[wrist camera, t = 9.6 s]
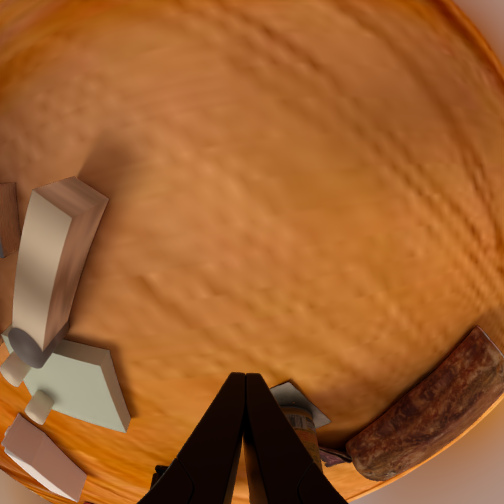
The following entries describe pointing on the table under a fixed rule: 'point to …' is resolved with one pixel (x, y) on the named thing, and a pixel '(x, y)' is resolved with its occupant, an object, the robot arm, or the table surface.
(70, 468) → the milk carton
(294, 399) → the condiment
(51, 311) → the leg
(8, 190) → the stop block
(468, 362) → the cured meat
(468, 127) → the table surface
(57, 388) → the stool seat
